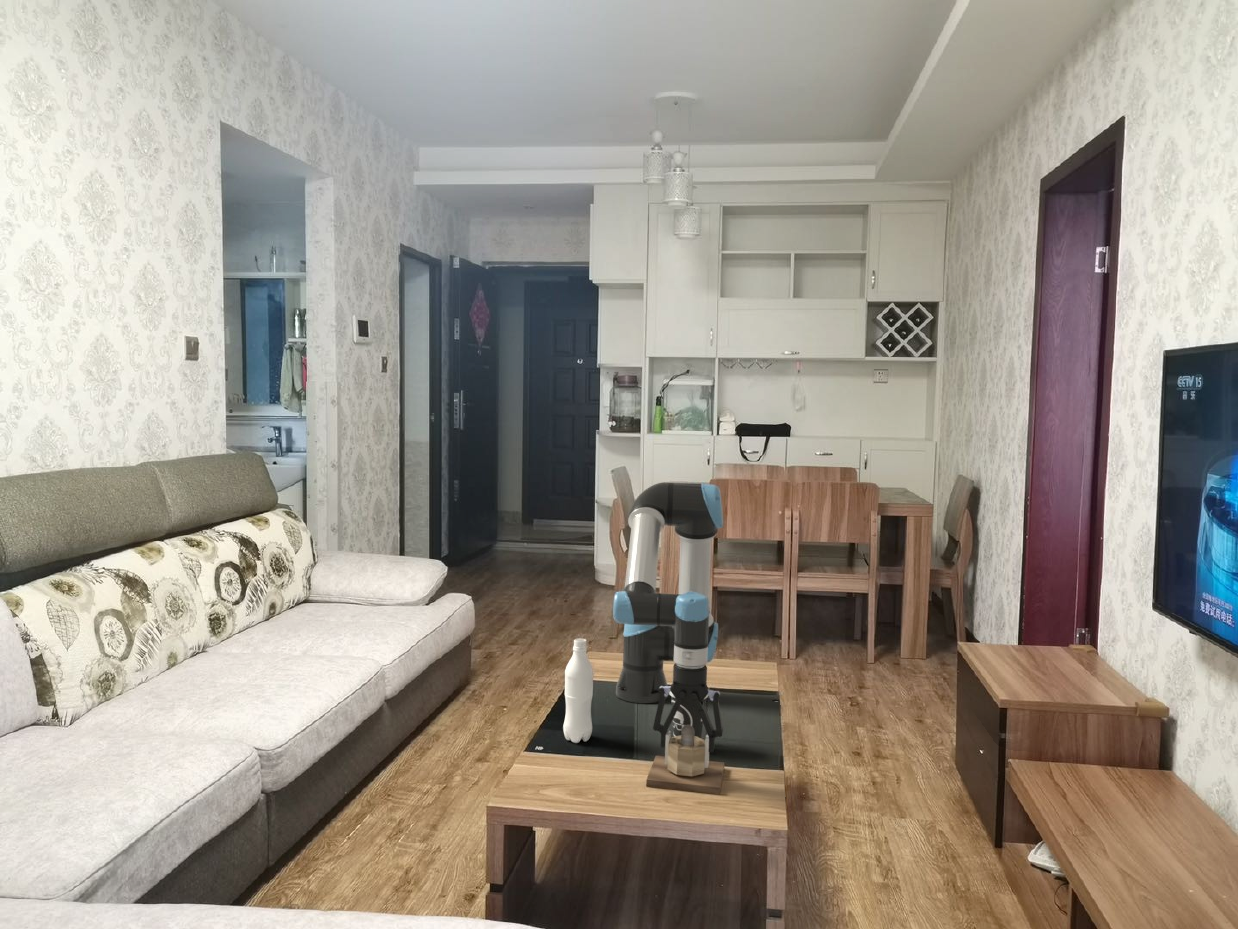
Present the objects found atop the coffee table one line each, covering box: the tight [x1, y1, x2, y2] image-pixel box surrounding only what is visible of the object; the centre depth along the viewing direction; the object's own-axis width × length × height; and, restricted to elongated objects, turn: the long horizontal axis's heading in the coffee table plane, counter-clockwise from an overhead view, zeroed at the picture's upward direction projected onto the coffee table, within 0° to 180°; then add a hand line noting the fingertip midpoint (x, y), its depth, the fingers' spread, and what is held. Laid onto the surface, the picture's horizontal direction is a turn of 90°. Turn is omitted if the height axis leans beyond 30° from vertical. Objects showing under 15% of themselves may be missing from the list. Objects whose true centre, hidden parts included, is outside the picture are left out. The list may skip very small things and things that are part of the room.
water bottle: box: [562, 638, 595, 744], centre depth 222 cm, size 7×7×25 cm
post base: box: [645, 725, 725, 795], centre depth 201 cm, size 14×16×12 cm
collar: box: [667, 735, 705, 776], centre depth 201 cm, size 8×8×6 cm
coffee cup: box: [668, 692, 709, 739], centre depth 220 cm, size 10×10×15 cm
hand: (686, 763), depth 201 cm, fingers closed on collar, 8 cm apart
